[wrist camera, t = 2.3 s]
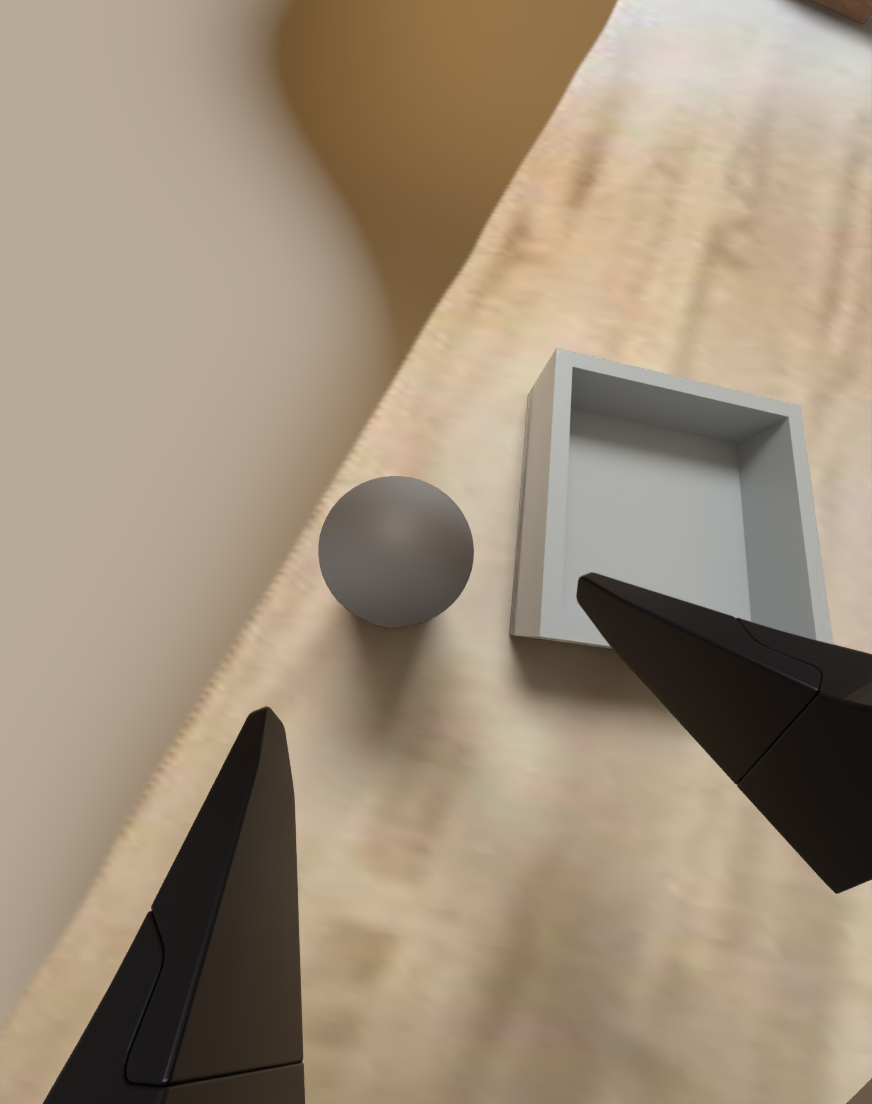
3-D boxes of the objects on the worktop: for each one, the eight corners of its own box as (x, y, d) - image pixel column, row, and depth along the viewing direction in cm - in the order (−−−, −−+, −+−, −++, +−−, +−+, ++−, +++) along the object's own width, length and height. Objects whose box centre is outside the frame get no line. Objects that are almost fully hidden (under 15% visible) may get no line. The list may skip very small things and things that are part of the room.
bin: (756, 668, 21) (837, 677, 18) (509, 634, 20) (539, 636, 16) (736, 440, 25) (800, 405, 21) (528, 394, 23) (556, 347, 20)
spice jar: (430, 633, 19) (465, 636, 11) (339, 621, 19) (302, 614, 10) (441, 546, 20) (480, 490, 12) (356, 532, 20) (335, 463, 11)
